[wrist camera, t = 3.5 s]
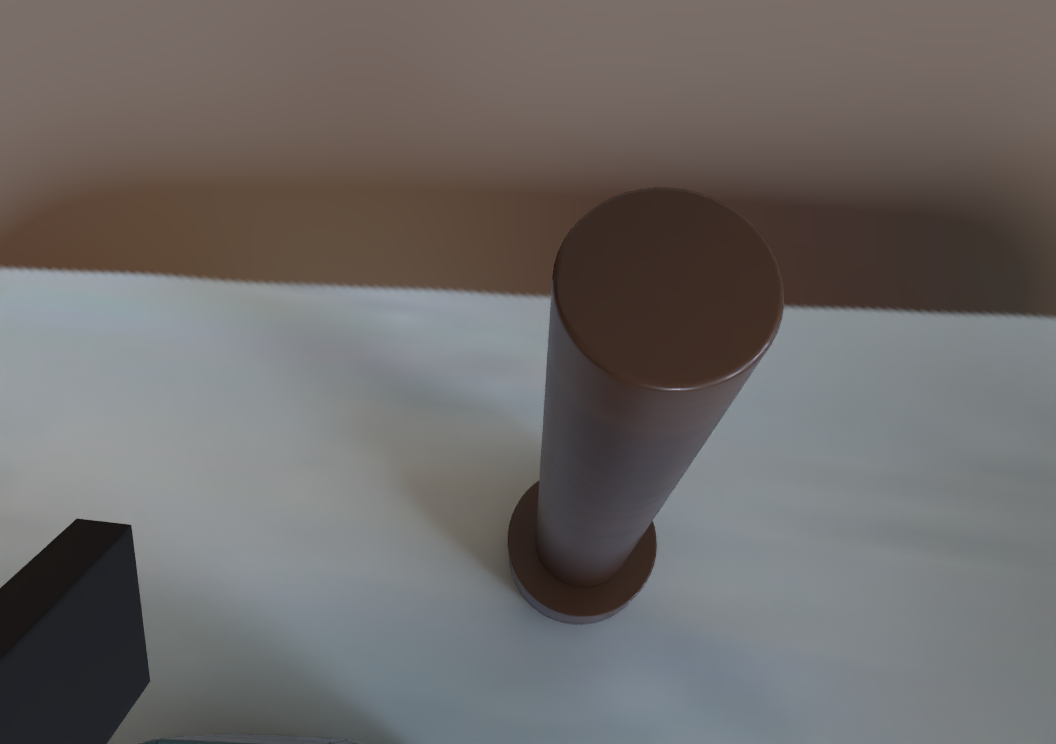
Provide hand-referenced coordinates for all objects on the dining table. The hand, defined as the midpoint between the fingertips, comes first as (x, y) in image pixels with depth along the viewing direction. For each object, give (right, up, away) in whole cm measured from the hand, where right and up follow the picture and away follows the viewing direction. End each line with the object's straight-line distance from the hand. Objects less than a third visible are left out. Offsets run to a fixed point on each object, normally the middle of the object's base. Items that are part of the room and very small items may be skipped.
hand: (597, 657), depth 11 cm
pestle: (0, -1, +12) cm, 12 cm away
